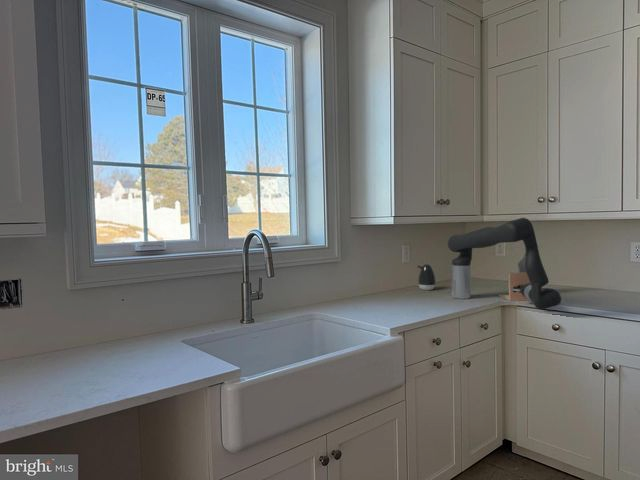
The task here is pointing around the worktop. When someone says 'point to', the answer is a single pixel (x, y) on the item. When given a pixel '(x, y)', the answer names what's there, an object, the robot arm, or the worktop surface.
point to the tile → (517, 280)
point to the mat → (504, 296)
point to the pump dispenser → (426, 277)
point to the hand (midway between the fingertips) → (520, 286)
